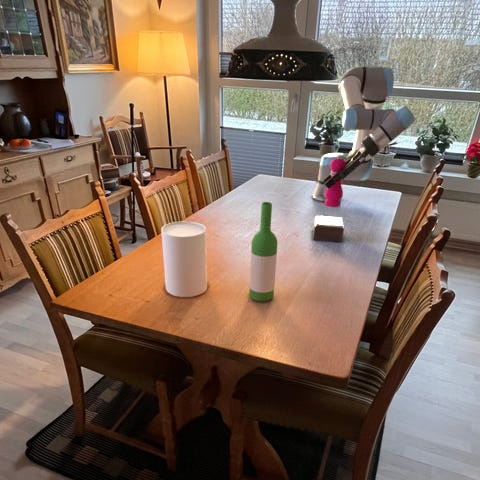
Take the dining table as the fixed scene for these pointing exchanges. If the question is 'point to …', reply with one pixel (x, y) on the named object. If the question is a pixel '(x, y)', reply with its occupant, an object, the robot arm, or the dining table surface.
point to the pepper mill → (336, 190)
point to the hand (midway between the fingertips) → (325, 184)
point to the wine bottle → (263, 258)
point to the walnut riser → (328, 229)
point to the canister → (185, 258)
